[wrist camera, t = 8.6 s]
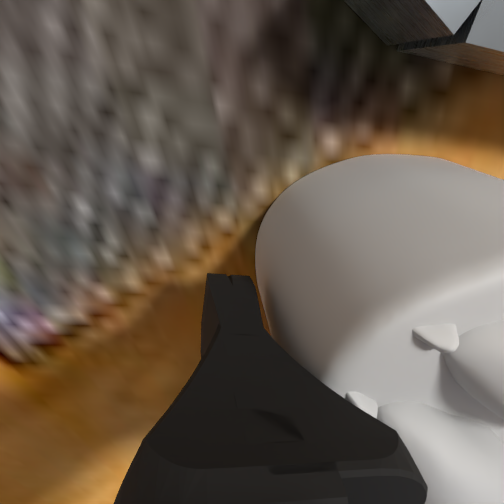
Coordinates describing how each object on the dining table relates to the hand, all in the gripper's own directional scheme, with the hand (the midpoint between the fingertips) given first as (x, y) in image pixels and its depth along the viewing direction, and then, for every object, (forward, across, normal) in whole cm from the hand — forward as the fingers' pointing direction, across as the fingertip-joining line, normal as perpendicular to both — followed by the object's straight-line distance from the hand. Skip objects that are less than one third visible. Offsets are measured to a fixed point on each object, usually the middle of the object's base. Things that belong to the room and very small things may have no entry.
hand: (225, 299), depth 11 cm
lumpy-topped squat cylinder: (+2, -7, 0) cm, 8 cm away
